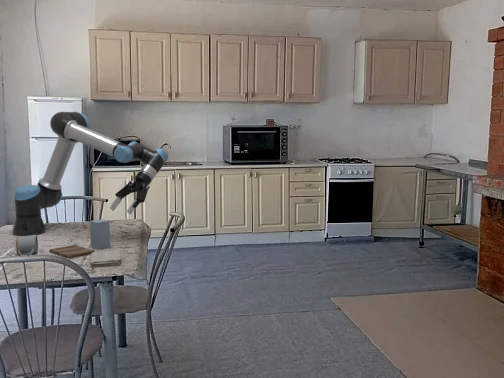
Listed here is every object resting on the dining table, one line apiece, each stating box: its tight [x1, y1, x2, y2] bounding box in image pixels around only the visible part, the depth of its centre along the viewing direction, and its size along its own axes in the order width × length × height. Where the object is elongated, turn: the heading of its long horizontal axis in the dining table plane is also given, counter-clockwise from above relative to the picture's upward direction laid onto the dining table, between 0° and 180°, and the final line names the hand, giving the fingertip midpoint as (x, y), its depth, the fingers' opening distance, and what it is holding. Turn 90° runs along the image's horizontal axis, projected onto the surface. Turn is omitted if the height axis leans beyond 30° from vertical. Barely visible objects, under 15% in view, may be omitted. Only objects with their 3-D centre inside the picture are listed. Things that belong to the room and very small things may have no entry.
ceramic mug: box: [15, 234, 39, 256], centre depth 223 cm, size 11×8×8 cm
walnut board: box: [48, 244, 95, 260], centre depth 225 cm, size 16×12×1 cm
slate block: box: [89, 218, 111, 250], centre depth 235 cm, size 6×6×12 cm
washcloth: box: [89, 249, 122, 268], centre depth 213 cm, size 12×18×3 cm, turn 17°
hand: (119, 211), depth 241 cm, fingers open, 13 cm apart
